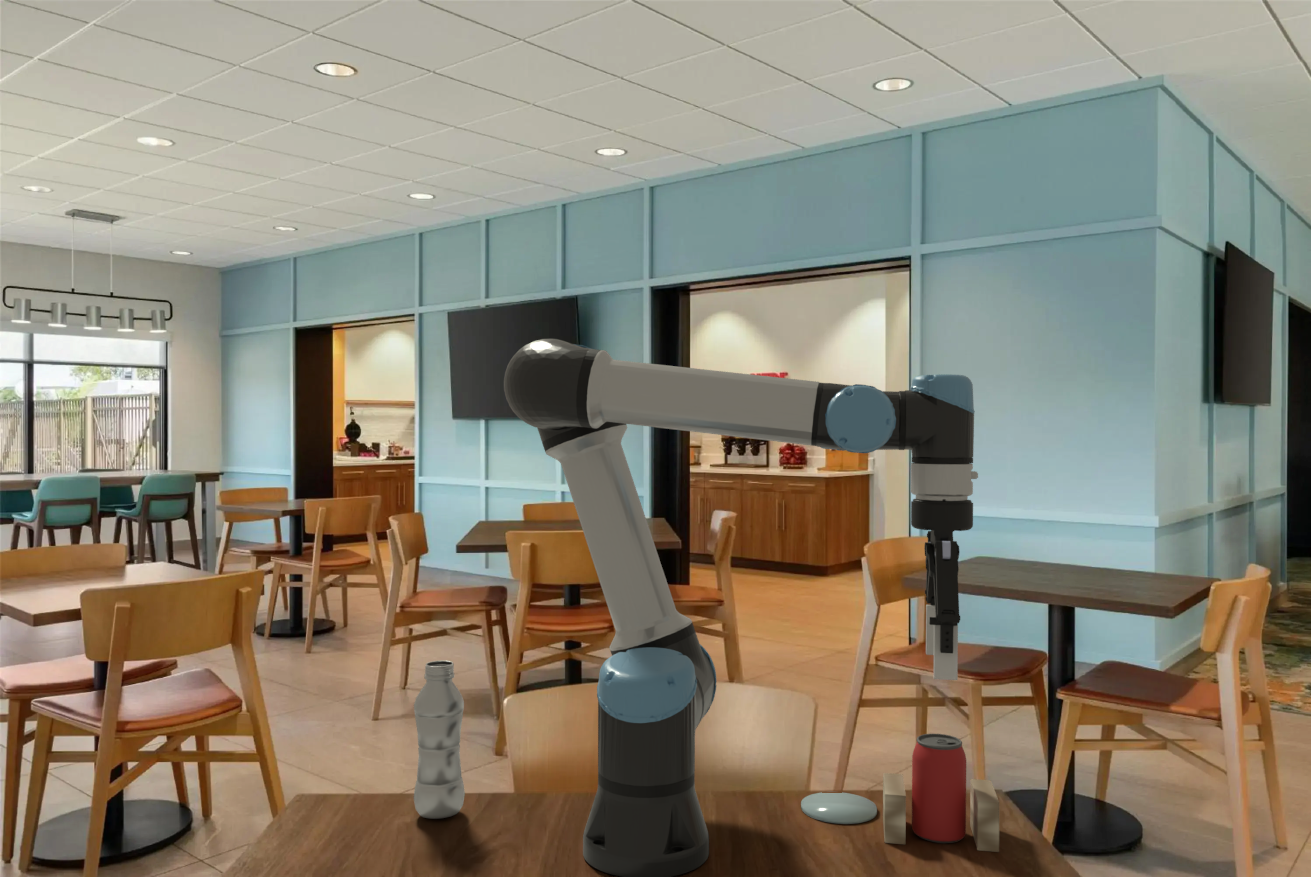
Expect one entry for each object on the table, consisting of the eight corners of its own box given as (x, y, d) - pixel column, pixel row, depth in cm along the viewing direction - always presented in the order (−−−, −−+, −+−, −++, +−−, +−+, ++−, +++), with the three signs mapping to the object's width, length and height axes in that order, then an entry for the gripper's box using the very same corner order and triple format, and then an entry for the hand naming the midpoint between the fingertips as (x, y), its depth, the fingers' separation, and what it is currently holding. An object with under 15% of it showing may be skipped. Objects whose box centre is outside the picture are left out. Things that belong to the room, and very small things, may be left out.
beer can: (968, 847, 124) (969, 749, 124) (912, 842, 126) (913, 746, 126) (963, 827, 131) (963, 733, 131) (910, 822, 132) (911, 730, 132)
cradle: (884, 842, 126) (884, 794, 126) (882, 818, 134) (883, 773, 134) (998, 852, 123) (999, 802, 123) (990, 826, 131) (990, 780, 131)
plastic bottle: (475, 812, 135) (475, 661, 135) (438, 829, 129) (439, 671, 129) (439, 802, 138) (440, 655, 138) (402, 818, 133) (403, 665, 133)
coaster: (799, 820, 133) (799, 816, 133) (802, 794, 142) (803, 789, 142) (877, 826, 131) (877, 822, 131) (876, 799, 141) (876, 794, 141)
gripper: (985, 505, 115) (984, 692, 115) (962, 492, 140) (961, 647, 140) (917, 503, 116) (915, 689, 117) (906, 491, 141) (905, 644, 141)
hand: (940, 666), depth 128 cm, fingers open, 13 cm apart
